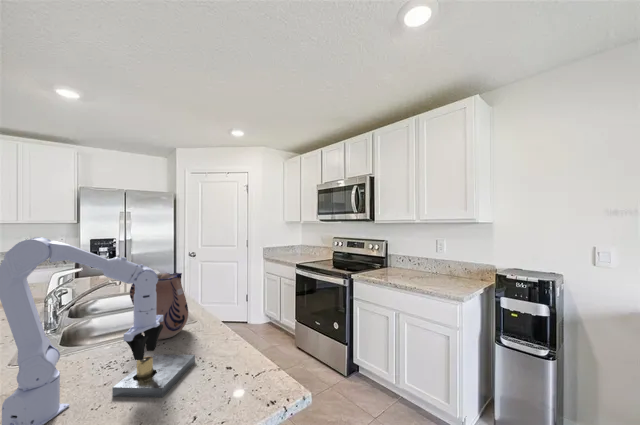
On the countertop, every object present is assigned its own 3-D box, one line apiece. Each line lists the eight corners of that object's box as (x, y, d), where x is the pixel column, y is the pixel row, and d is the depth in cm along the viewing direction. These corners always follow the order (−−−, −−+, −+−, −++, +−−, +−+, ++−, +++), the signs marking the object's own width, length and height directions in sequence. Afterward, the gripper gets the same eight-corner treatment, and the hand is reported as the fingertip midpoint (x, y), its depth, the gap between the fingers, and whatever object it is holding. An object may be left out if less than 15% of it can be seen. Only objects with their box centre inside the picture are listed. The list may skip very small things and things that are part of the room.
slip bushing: (146, 388, 79) (146, 363, 79) (133, 387, 79) (133, 362, 79) (155, 379, 83) (155, 356, 83) (143, 379, 83) (143, 355, 83)
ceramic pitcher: (197, 331, 117) (197, 273, 117) (144, 353, 99) (145, 283, 99) (173, 323, 126) (173, 269, 126) (121, 342, 108) (121, 278, 108)
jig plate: (162, 397, 74) (162, 388, 75) (112, 396, 75) (112, 387, 75) (194, 362, 92) (195, 354, 93) (154, 361, 93) (154, 354, 93)
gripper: (141, 318, 74) (141, 368, 74) (172, 301, 88) (172, 343, 88) (116, 317, 74) (115, 368, 74) (151, 301, 89) (151, 343, 88)
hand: (145, 354), depth 81 cm, fingers open, 5 cm apart
